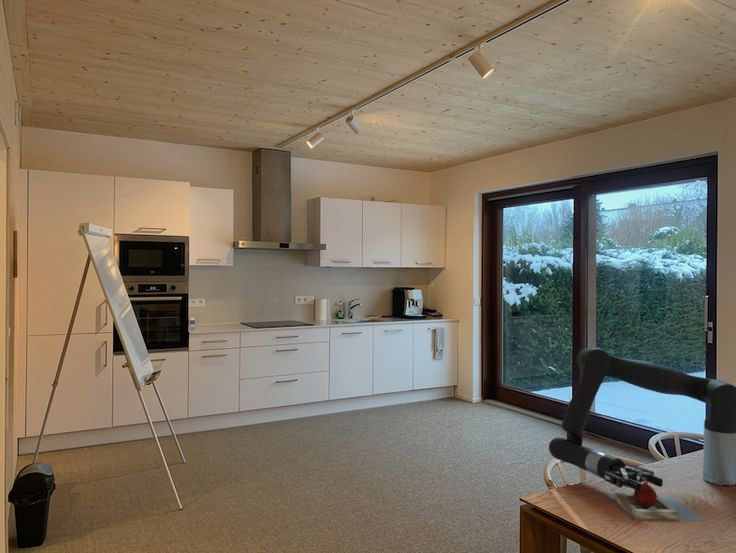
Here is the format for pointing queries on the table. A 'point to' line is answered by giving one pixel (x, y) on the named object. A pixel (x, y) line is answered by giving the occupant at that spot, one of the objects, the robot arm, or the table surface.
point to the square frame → (661, 513)
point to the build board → (682, 510)
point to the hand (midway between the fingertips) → (651, 485)
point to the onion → (645, 496)
